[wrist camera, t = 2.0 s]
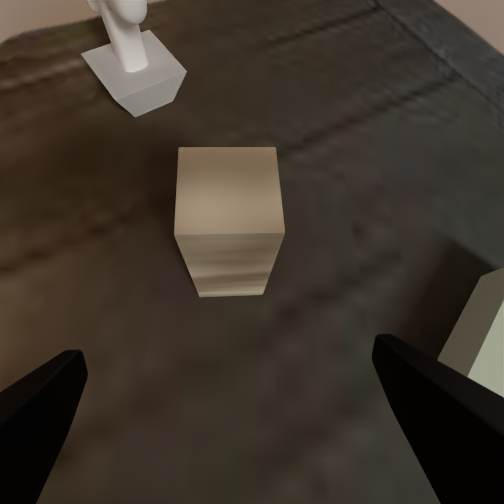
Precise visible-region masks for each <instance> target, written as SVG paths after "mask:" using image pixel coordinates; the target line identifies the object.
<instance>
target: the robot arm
mask: <svg viewBox="0 0 504 504" xmlns="http://www.w3.org/2000/svg"><path fill="white" fill-rule="evenodd" d="M372 361H373V364H374V367H375V369H376V372H377V374H378V377H379V379H380V382H381V384H382V387H383V389H384V392H385V394H386V397H387V399H388V402H389V404H390V406H391V409H392V411H393V413H394V415H395V417H396V419H397V421H398V422H399V424H400V426H401V428H402V430H403V432H404V434H405V436H406V438H407V440H408V442H409V444H410V446H411V447H412V449H413V451H414V453H415V455H416V457H417V459H418V461H419V463H420V465H421V467H422V469H423V470H424V472H425V474H426V476H427V478H428V480H429V482H430V484H431V486H432V488H433V490H434V492H435V494H436V495H437V497H438V499H439V501H440V503H441V504H504V397H502V396H500V395H499V394H497V393H495V392H493V391H491V390H490V389H488V388H486V387H484V386H483V385H481V384H479V383H477V382H475V381H474V380H472V379H470V378H468V377H466V376H465V375H463V374H461V373H459V372H457V371H456V370H454V369H452V368H450V367H449V366H447V365H445V364H443V363H441V362H440V361H438V360H436V359H434V358H432V357H431V356H429V355H427V354H425V353H423V352H422V351H420V350H418V349H416V348H414V347H413V346H411V345H409V344H407V343H406V342H404V341H402V340H400V339H398V338H397V337H395V336H393V335H391V334H378V335H377V336H376V337H375V341H374V347H373V352H372ZM87 377H88V371H87V367H86V363H85V359H84V355H83V352H82V351H81V350H66V351H64V352H62V353H60V354H59V355H57V356H56V357H54V358H53V359H51V360H50V361H48V362H46V363H45V364H43V365H42V366H40V367H39V368H37V369H36V370H34V371H32V372H31V373H29V374H28V375H26V376H25V377H23V378H22V379H20V380H18V381H17V382H15V383H14V384H12V385H11V386H9V387H8V388H6V389H4V390H3V391H1V392H0V504H36V502H37V500H38V498H39V496H40V494H41V491H42V489H43V487H44V485H45V483H46V481H47V478H48V476H49V474H50V472H51V470H52V468H53V465H54V463H55V461H56V459H57V457H58V454H59V452H60V450H61V448H62V446H63V444H64V441H65V439H66V437H67V434H68V432H69V430H70V427H71V424H72V421H73V419H74V416H75V413H76V410H77V407H78V404H79V401H80V398H81V395H82V392H83V389H84V387H85V384H86V381H87Z"/></svg>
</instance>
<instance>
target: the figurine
mask: <svg viewBox="0 0 504 504" xmlns="http://www.w3.org/2000/svg"><path fill="white" fill-rule="evenodd" d="M87 2H88V4H89V6H90V8H91V9H92V10H93V11H94V12H97V13H101V16H102V19H103V21H104V24H105V27H106V30H107V32H108V35H109V38H110V41H111V43H110V44H107V45H104V46H102V47H99V48H96V49H93V50H90V51H87V52H84V53H82V54H81V55H82V56H83V58H84V59H85V60H86V62H87V63H88V64H89V66H90V67H91V68H92V70H93V71H94V72H95V74H96V75H97V77H98V78H99V79H100V81H101V82H102V83H103V85H104V86H105V87H106V89H107V90H108V91H109V93H110V94H111V95H112V97H113V98H114V99H115V101H116V102H118V103H119V104H120V105H121V106H122V107H124V108H125V109H126V110H127V111H128V112H129V113H131V114H132V115H133V116H134V117H138V116H140V115H142V114H144V113H147V112H149V111H151V110H154V109H156V108H158V107H161V106H163V105H165V104H168V103H170V102H172V101H173V100H174V98H175V96H176V93H177V91H178V89H179V87H180V85H181V83H182V81H183V79H184V77H185V74H186V72H187V71H186V70H185V69H184V68H183V67H182V65H181V64H180V63H179V62H178V61H177V60H176V59H175V58H174V56H173V55H172V54H171V53H170V52H169V51H168V50H167V49H166V48H165V46H164V45H163V44H162V43H161V42H160V41H159V40H158V39H157V37H156V36H155V35H154V34H153V33H152V32H151V31H150V30H147V31H145V32H142V33H141V32H140V28H139V25H138V24H139V23H141V22H142V21H143V20H144V19H145V17H146V13H147V1H146V0H87Z"/></svg>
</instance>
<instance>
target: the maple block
mask: <svg viewBox="0 0 504 504" xmlns="http://www.w3.org/2000/svg"><path fill="white" fill-rule="evenodd" d="M284 234H285V228H284V219H283V210H282V201H281V192H280V183H279V174H278V165H277V156H276V147H179V151H178V170H177V189H176V208H175V227H174V236H175V239H176V241H177V243H178V246H179V248H180V251H181V253H182V256H183V258H184V260H185V263H186V265H187V268H188V270H189V273H190V275H191V277H192V280H193V282H194V285H195V287H196V290H197V292H198V294H199V297H214V296H239V295H263V292H264V289H265V287H266V284H267V281H268V278H269V276H270V273H271V270H272V267H273V264H274V262H275V259H276V256H277V253H278V251H279V248H280V245H281V242H282V239H283V237H284Z"/></svg>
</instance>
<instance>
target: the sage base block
mask: <svg viewBox="0 0 504 504" xmlns="http://www.w3.org/2000/svg"><path fill="white" fill-rule="evenodd" d="M437 360H438V361H440V362H441V363H443V364H445V365H447V366H449V367H450V368H452V369H454V370H456V371H457V372H459V373H461V374H463V375H465V376H466V377H468V378H470V379H472V380H474V381H475V382H477V383H479V384H481V385H483V386H484V387H486V388H488V389H490V390H491V391H493V392H495V393H497V394H499V395H500V396H502V397H504V267H503V268H500V269H498V270H496V271H493V272H491V273H488V274H486V275H483V276H481V277H480V279H479V281H478V283H477V285H476V287H475V288H474V290H473V292H472V294H471V296H470V298H469V300H468V302H467V304H466V306H465V308H464V309H463V311H462V313H461V315H460V317H459V319H458V321H457V323H456V325H455V327H454V328H453V330H452V332H451V334H450V336H449V338H448V340H447V342H446V344H445V346H444V347H443V349H442V351H441V353H440V355H439V357H438V359H437Z"/></svg>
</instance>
